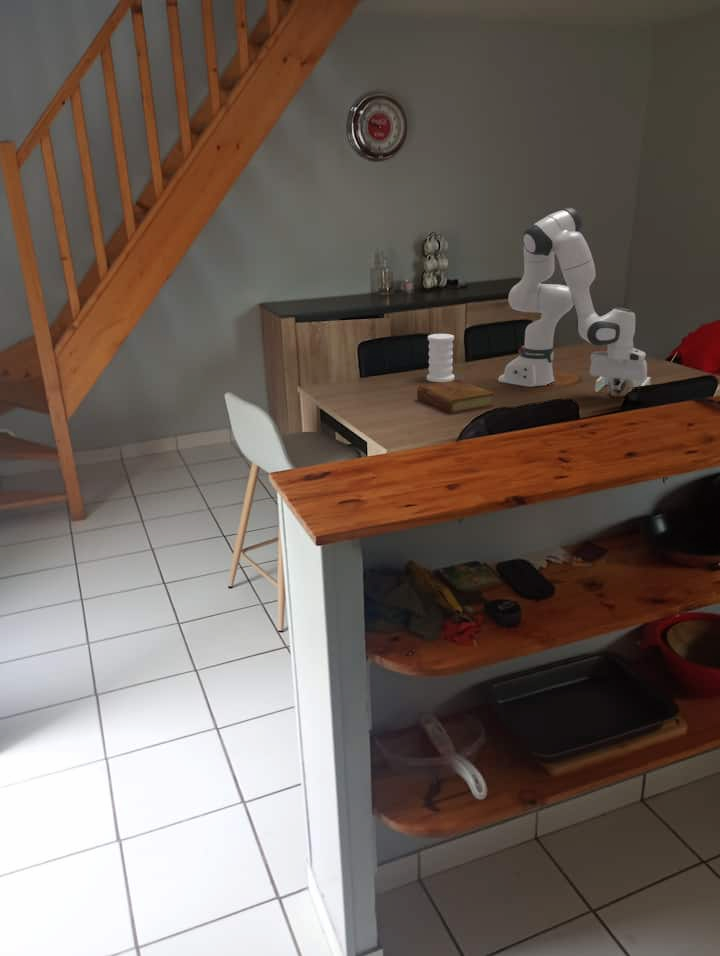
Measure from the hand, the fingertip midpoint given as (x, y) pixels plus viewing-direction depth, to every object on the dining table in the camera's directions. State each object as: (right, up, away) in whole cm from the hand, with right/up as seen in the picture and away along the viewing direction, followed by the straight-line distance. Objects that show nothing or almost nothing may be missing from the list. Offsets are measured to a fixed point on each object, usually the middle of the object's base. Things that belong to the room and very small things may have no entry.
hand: (616, 389), depth 277 cm
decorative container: (-62, +9, +36) cm, 72 cm away
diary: (-60, -5, +2) cm, 61 cm away
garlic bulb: (+3, -2, +4) cm, 5 cm away
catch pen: (+6, +1, +10) cm, 12 cm away
